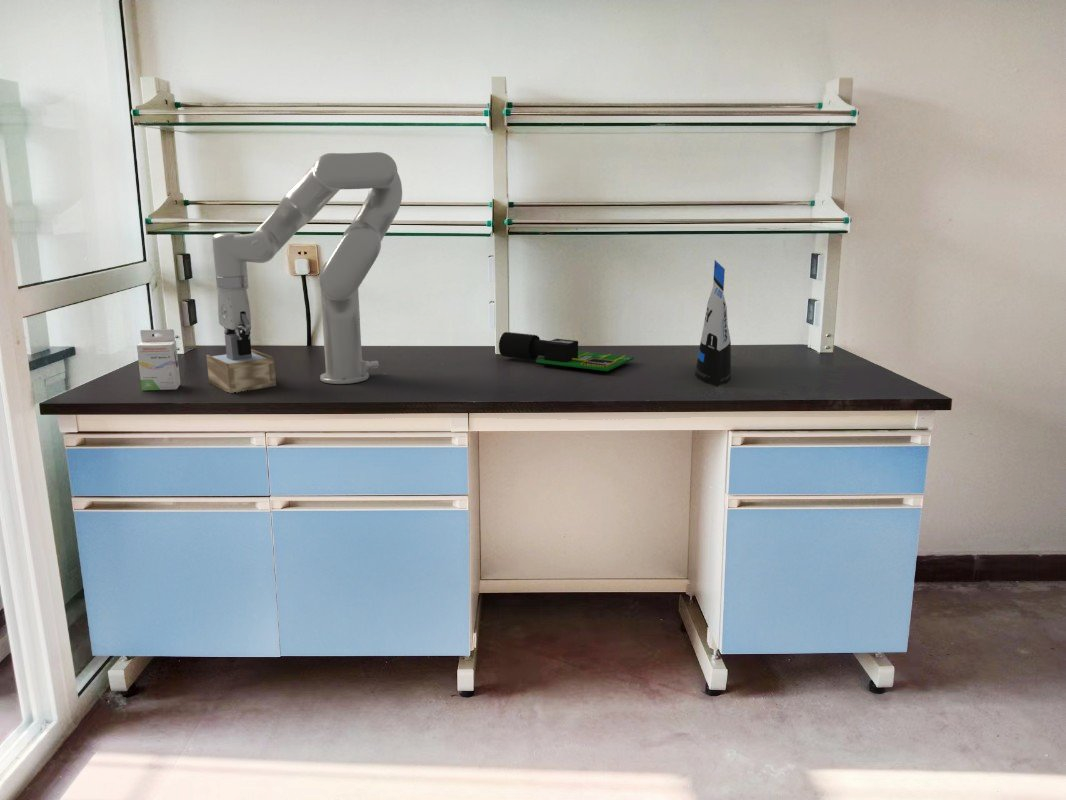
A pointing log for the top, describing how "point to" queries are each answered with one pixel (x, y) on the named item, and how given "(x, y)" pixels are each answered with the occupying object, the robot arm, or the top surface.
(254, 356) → the cover plate
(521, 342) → the electronic board model
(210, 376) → the beech box
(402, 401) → the top surface
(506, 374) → the top surface
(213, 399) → the top surface
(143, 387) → the ink box
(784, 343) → the top surface
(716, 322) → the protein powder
